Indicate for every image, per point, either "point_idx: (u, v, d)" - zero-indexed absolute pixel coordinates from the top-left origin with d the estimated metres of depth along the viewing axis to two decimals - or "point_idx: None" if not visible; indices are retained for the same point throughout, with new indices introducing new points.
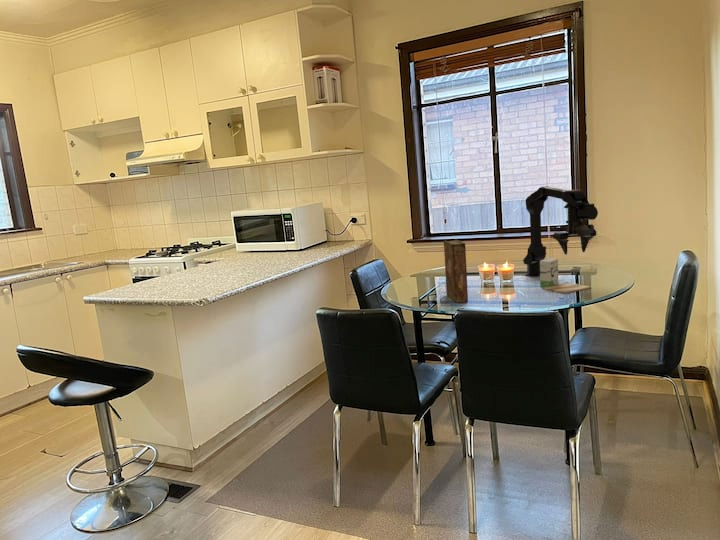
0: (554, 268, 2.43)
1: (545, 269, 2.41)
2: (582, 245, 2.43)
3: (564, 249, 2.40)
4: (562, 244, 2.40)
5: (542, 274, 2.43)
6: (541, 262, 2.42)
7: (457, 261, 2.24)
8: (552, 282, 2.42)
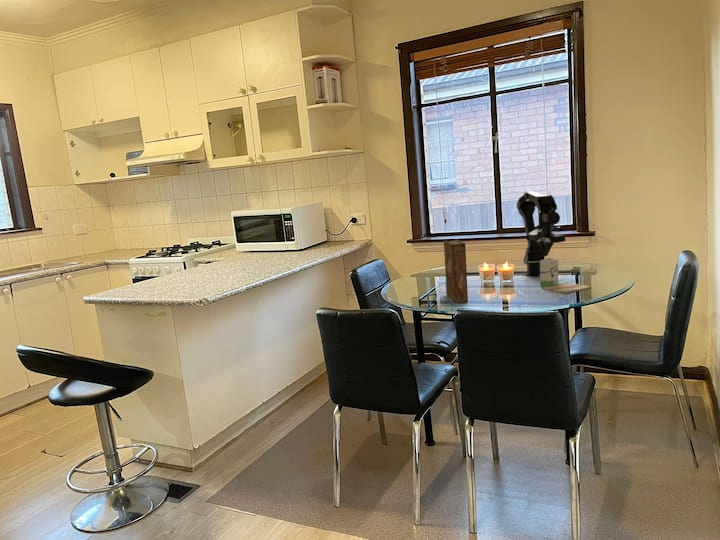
0: (554, 268, 2.43)
1: (545, 269, 2.41)
2: None
3: None
4: None
5: (542, 274, 2.43)
6: (541, 262, 2.42)
7: (457, 261, 2.24)
8: (552, 282, 2.42)
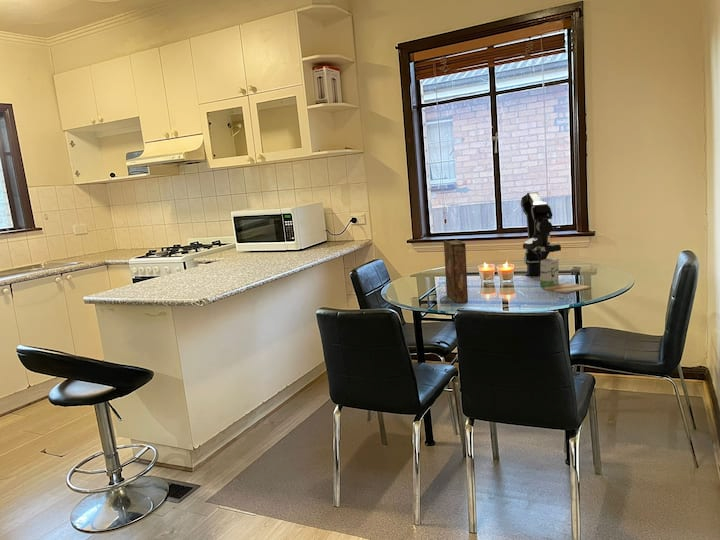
0: (554, 268, 2.42)
1: (545, 269, 2.41)
2: None
3: None
4: None
5: (542, 274, 2.42)
6: (542, 262, 2.42)
7: (457, 261, 2.24)
8: (552, 282, 2.42)
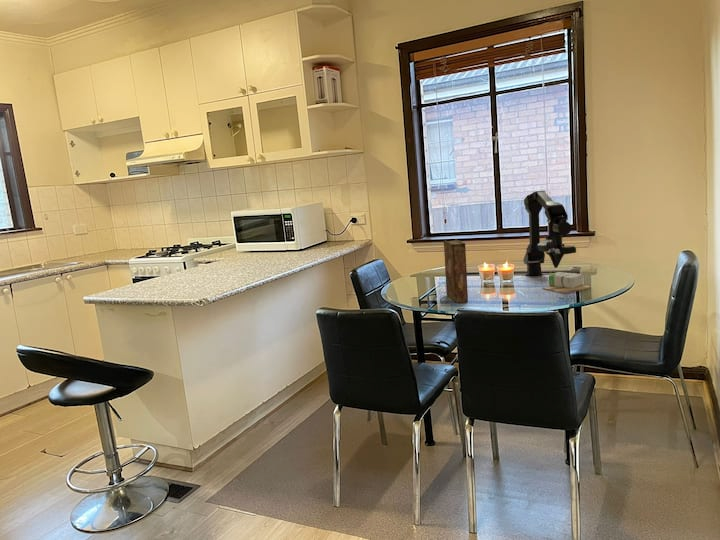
0: None
1: (565, 283, 2.35)
2: None
3: None
4: None
5: (560, 279, 2.37)
6: (571, 279, 2.32)
7: (457, 261, 2.24)
8: None
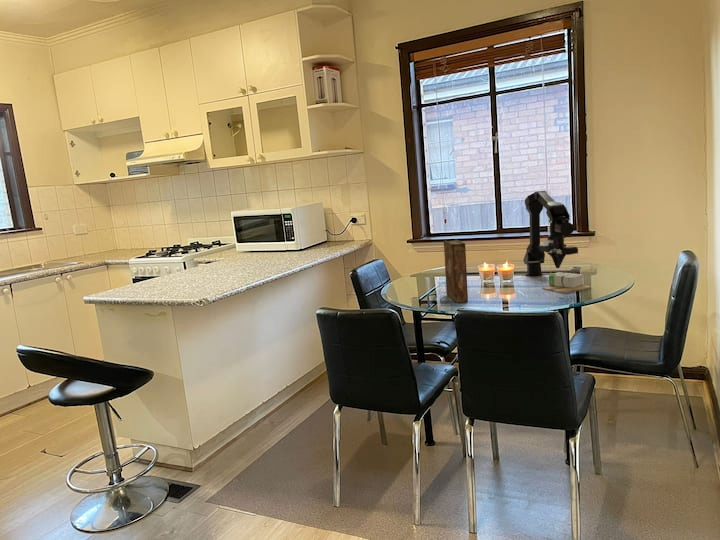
0: None
1: (565, 283, 2.35)
2: None
3: None
4: None
5: (560, 279, 2.37)
6: (572, 279, 2.32)
7: (457, 261, 2.24)
8: None
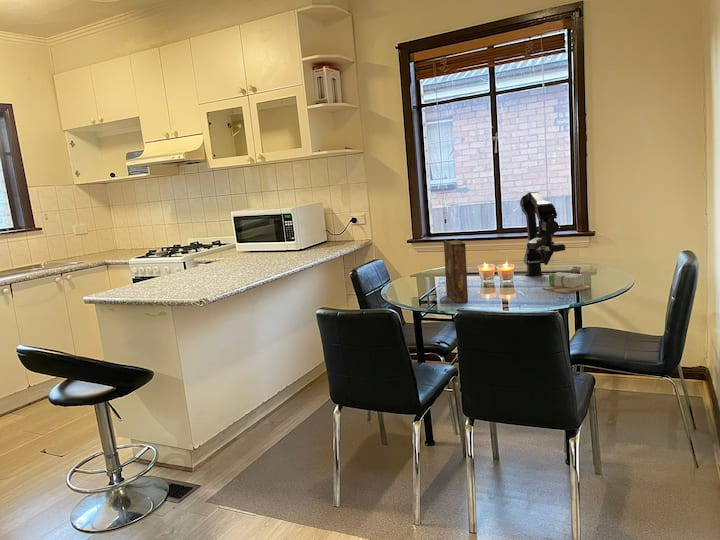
0: None
1: (565, 283, 2.35)
2: None
3: None
4: None
5: (560, 279, 2.37)
6: (572, 279, 2.32)
7: (457, 261, 2.24)
8: None
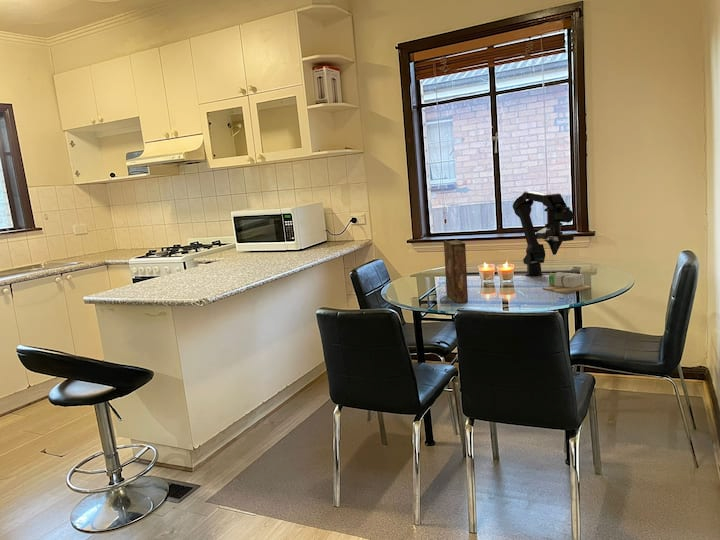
0: None
1: (565, 283, 2.35)
2: None
3: None
4: None
5: (560, 279, 2.37)
6: (572, 279, 2.32)
7: (457, 261, 2.24)
8: None
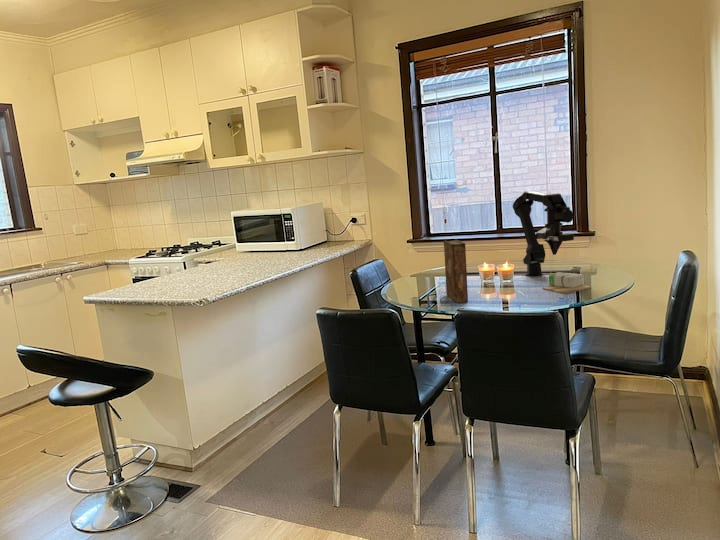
0: None
1: (565, 283, 2.35)
2: None
3: None
4: None
5: (560, 279, 2.37)
6: (572, 279, 2.32)
7: (457, 261, 2.24)
8: None
